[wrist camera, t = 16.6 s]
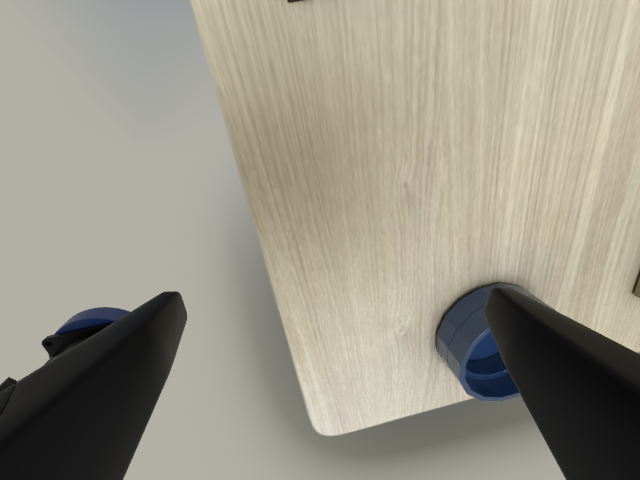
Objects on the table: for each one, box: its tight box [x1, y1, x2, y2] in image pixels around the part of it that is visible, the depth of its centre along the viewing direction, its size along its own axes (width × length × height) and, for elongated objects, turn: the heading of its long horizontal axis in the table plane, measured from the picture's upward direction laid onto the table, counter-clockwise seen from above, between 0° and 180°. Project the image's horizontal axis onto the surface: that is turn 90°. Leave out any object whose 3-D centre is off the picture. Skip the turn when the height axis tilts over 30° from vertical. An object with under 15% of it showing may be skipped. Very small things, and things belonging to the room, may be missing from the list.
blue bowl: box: [437, 283, 556, 401], centre depth 26 cm, size 10×10×4 cm
